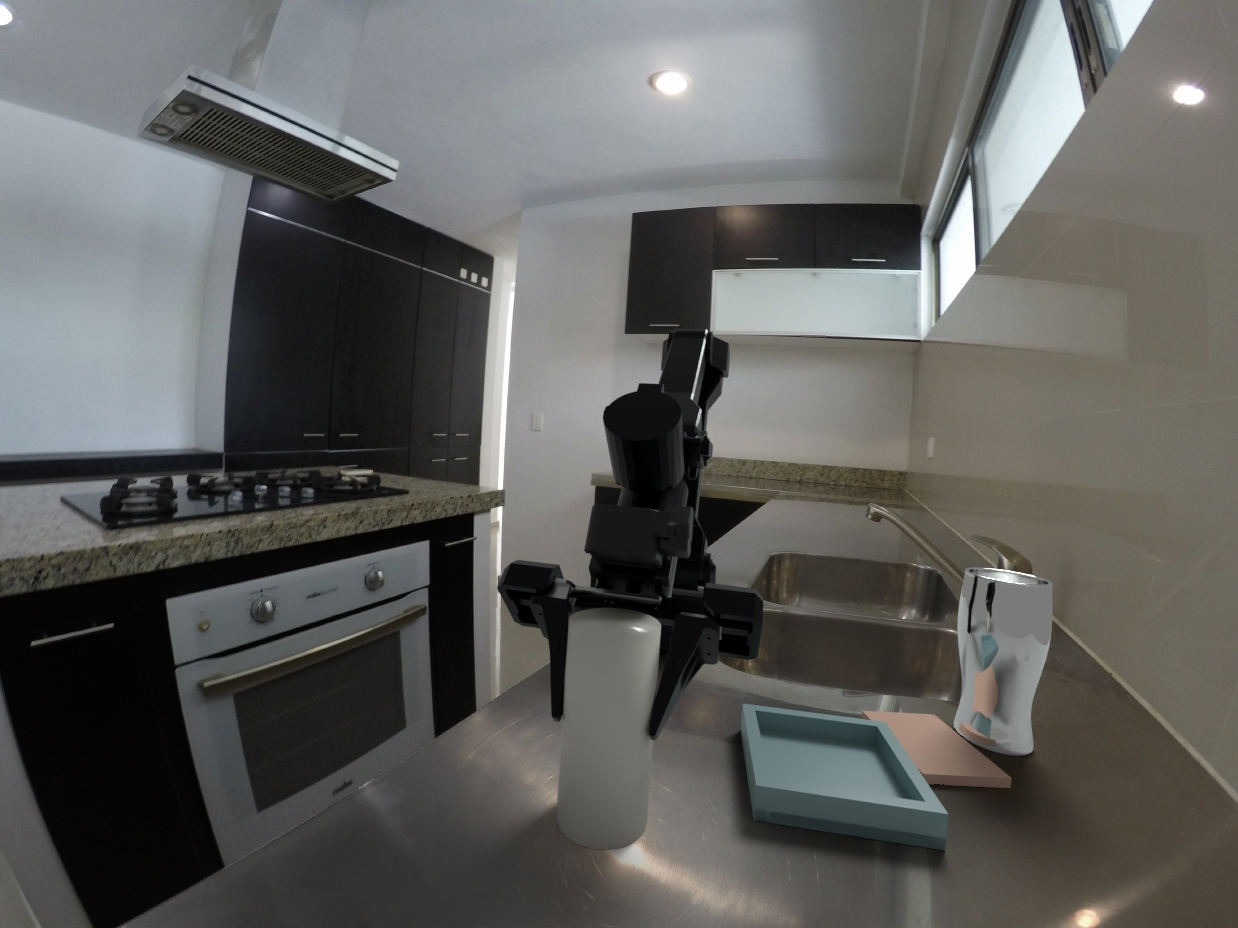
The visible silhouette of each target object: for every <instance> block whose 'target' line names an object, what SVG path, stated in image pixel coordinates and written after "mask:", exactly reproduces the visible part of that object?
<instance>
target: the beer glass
mask: <svg viewBox="0 0 1238 928" xmlns="http://www.w3.org/2000/svg"><path fill="white" fill-rule="evenodd" d="M1053 587H1054V583H1053V582H1052V581H1050V580H1049V579H1046V578H1044V577H1040V576H1036V575H1034V574H1033V575H1032V574H1028V573H1024V572H1019V571H1013V570H1006V569H999V568H991V567H979V566H978V567H976V566H975V567H966V568H965V569H964V576H963V581H962V587H961V593H960V597H959V604H958V612H957V642H958V643H957V644H958V652H959V655H958V656H959V663H960V672H961V694H960V700H959V705H958V707H957V711H956V714H955V716H954V720H953V724H954V725H953V729H954V728H955V729H956V731H957V732H958V733H959V734H960V735H961V736H963V737H964V738H965V740H966V741H967V740H968V741H967V742H969V741H970V742H969V743H970V744H972V745H975V746H977V747H979V748H981V749H983V750H986V751H990V752H994V753H997V754H1001V755H1007V756H1014V757H1015V756H1016V757H1017V756H1018V757H1020V756H1021V757H1022V756H1027V755H1030V754H1031V753H1032V752H1033V751H1034V737H1033V729H1032V718H1031V716H1032V707H1033V701H1034V698H1035V694H1036V691H1037V688H1038V685H1039V681H1040V678H1041V677H1042V673H1043V669H1044V667H1045V664H1046V661H1047V657H1048V653H1049V650H1050V646H1051V645H1050V644H1051V639H1052V638H1051V636H1052V630H1053V629H1052V628H1053ZM955 729H954V730H955ZM956 731H955V732H956ZM957 732H956V733H957ZM958 733H957V734H958ZM963 737H962V738H963ZM964 738H963V739H964Z"/></svg>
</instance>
